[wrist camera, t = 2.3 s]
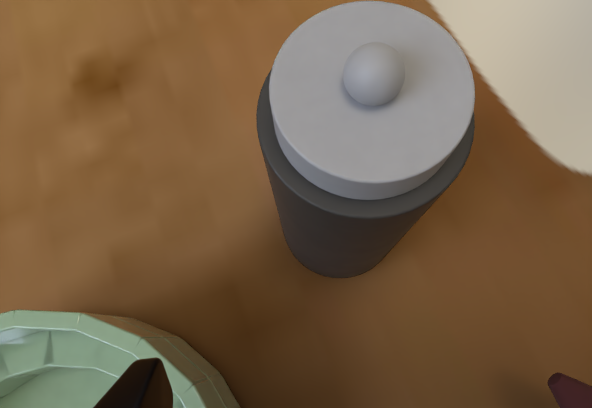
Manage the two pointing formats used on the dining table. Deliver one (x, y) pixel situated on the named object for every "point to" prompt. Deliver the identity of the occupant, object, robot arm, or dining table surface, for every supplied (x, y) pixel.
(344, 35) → the pepper mill
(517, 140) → the dining table surface
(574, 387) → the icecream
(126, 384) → the robot arm
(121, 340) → the bowl
